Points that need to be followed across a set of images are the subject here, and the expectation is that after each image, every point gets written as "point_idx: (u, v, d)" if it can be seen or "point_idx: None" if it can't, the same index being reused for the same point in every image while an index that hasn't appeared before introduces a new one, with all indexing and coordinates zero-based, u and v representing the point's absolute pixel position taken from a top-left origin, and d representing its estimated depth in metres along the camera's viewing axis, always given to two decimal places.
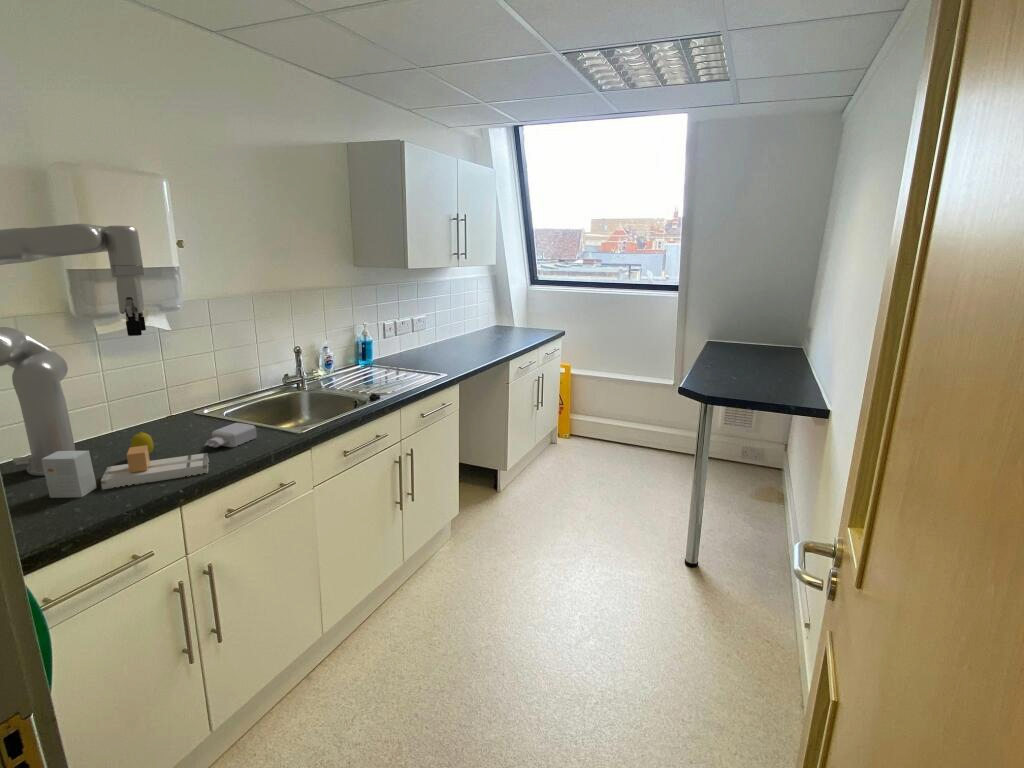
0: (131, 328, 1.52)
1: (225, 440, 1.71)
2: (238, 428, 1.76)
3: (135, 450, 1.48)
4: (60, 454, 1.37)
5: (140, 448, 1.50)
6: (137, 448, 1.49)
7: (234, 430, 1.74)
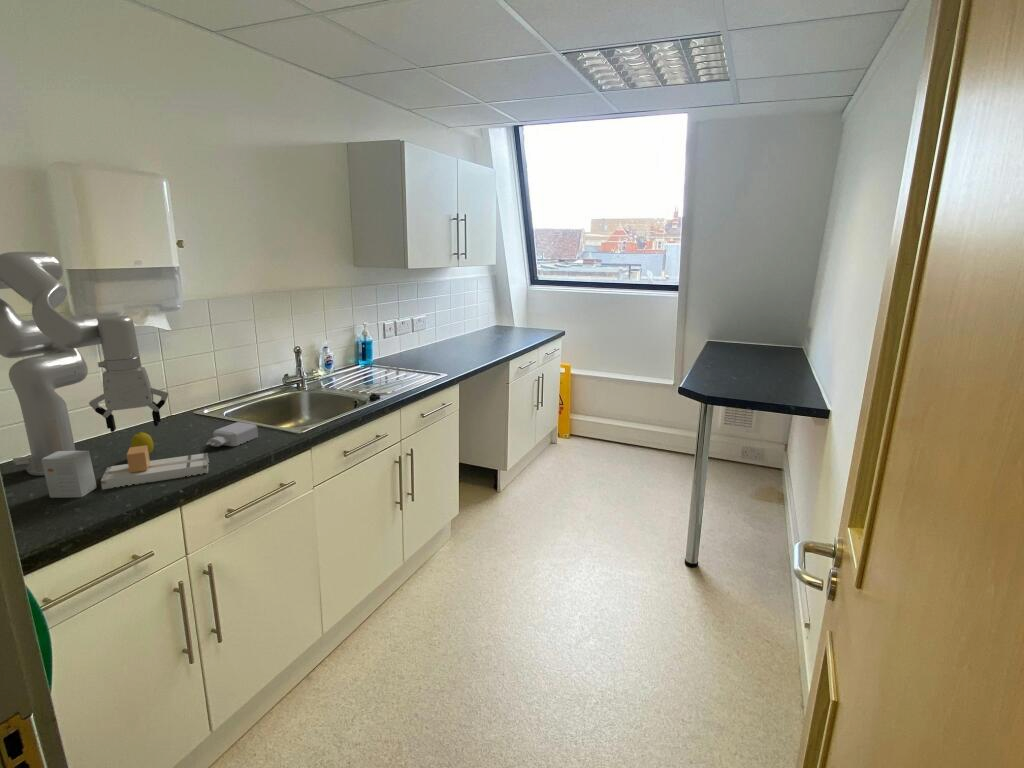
0: (159, 417, 1.48)
1: (227, 439, 1.72)
2: (239, 427, 1.77)
3: (135, 450, 1.48)
4: (60, 454, 1.37)
5: (140, 448, 1.50)
6: (137, 448, 1.49)
7: (235, 429, 1.75)
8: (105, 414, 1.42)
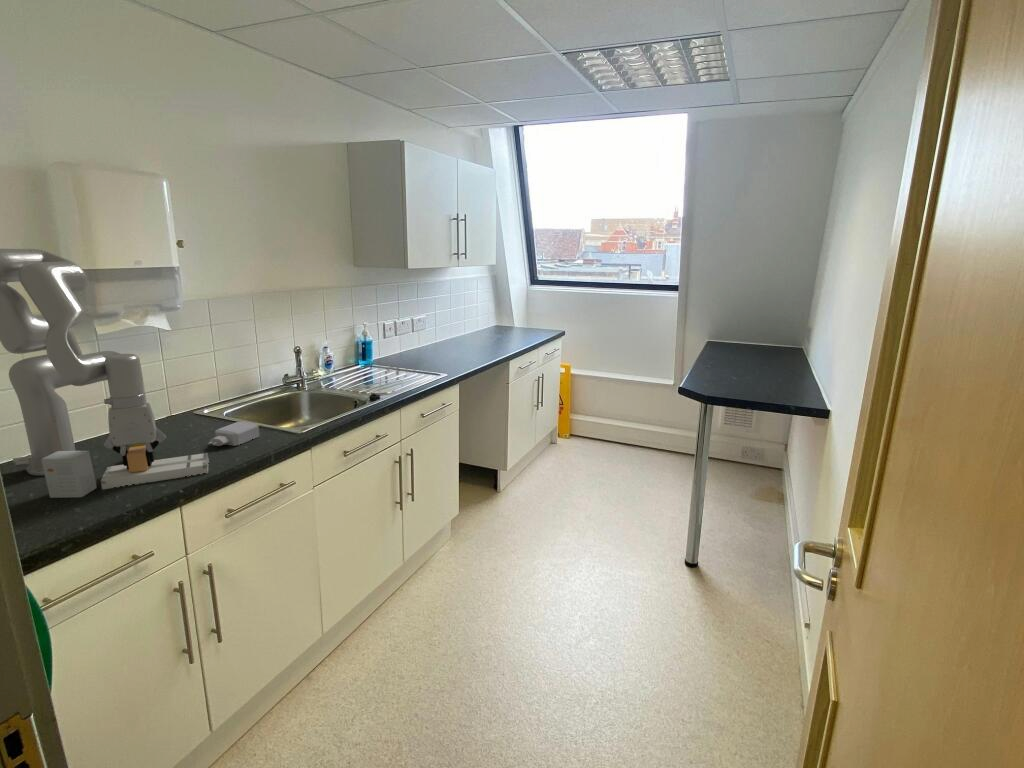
0: (152, 457, 1.50)
1: (228, 438, 1.72)
2: (241, 427, 1.77)
3: (135, 450, 1.48)
4: (60, 454, 1.37)
5: (140, 448, 1.50)
6: (137, 448, 1.49)
7: (237, 429, 1.75)
8: (121, 452, 1.46)
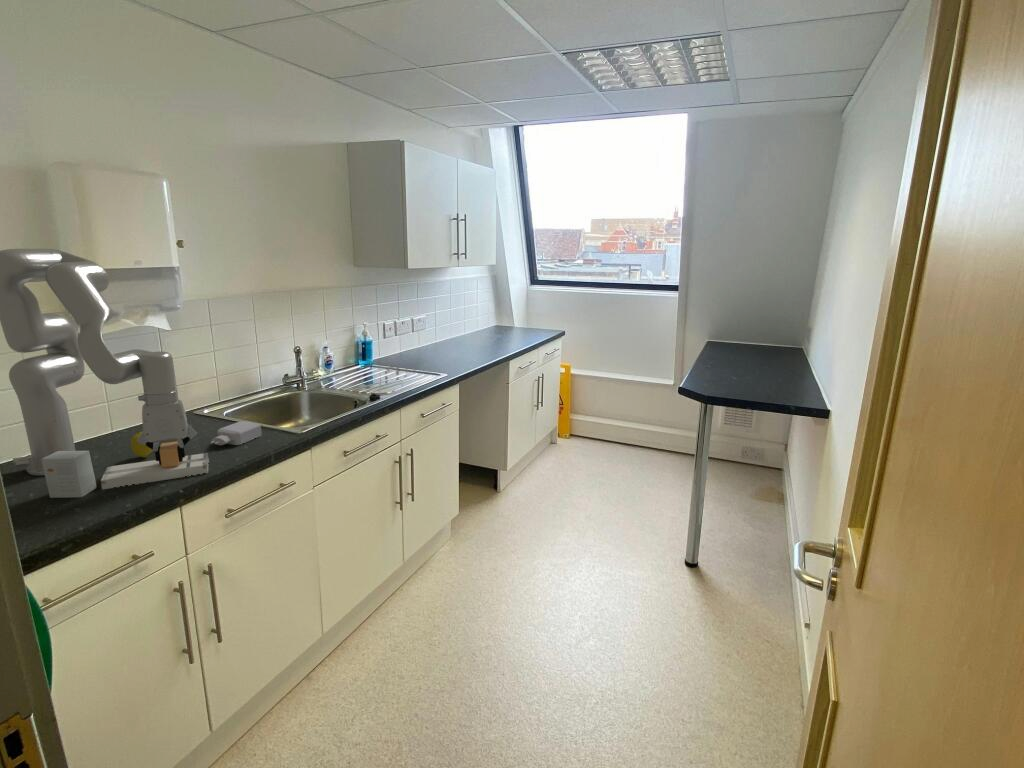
0: (184, 453, 1.53)
1: (230, 438, 1.73)
2: (243, 426, 1.78)
3: (167, 445, 1.51)
4: (60, 454, 1.37)
5: (171, 444, 1.53)
6: (169, 444, 1.52)
7: (239, 428, 1.76)
8: (154, 448, 1.49)
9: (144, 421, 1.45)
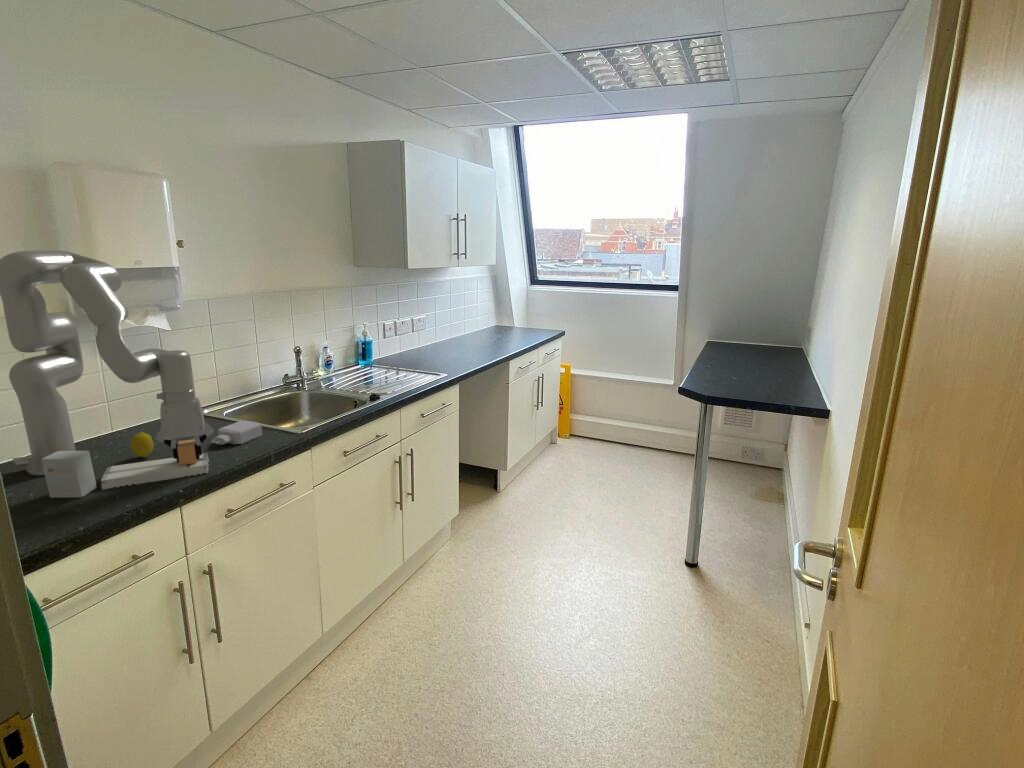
0: (201, 450, 1.55)
1: (231, 437, 1.73)
2: (244, 426, 1.78)
3: (184, 443, 1.53)
4: (60, 454, 1.37)
5: (188, 441, 1.55)
6: (186, 442, 1.54)
7: (240, 428, 1.76)
8: (172, 446, 1.51)
9: (162, 419, 1.47)
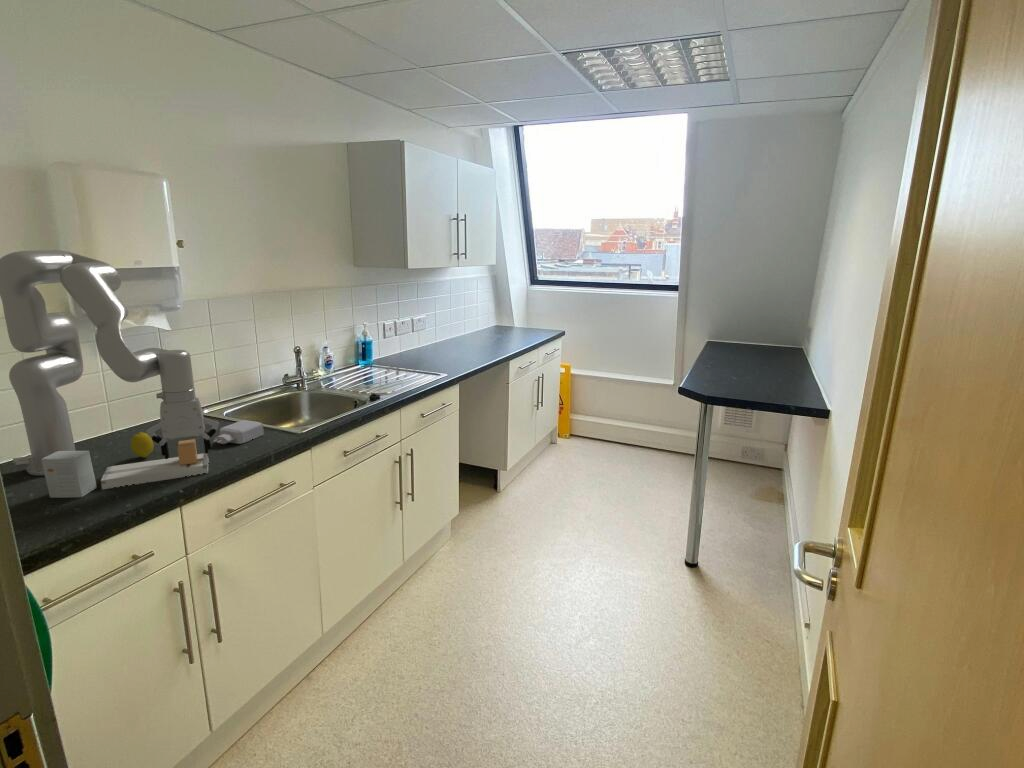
0: (210, 445, 1.56)
1: (233, 436, 1.74)
2: (245, 425, 1.79)
3: (185, 443, 1.53)
4: (60, 454, 1.37)
5: (188, 441, 1.55)
6: (186, 442, 1.54)
7: (241, 427, 1.77)
8: (161, 442, 1.49)
9: (162, 418, 1.47)
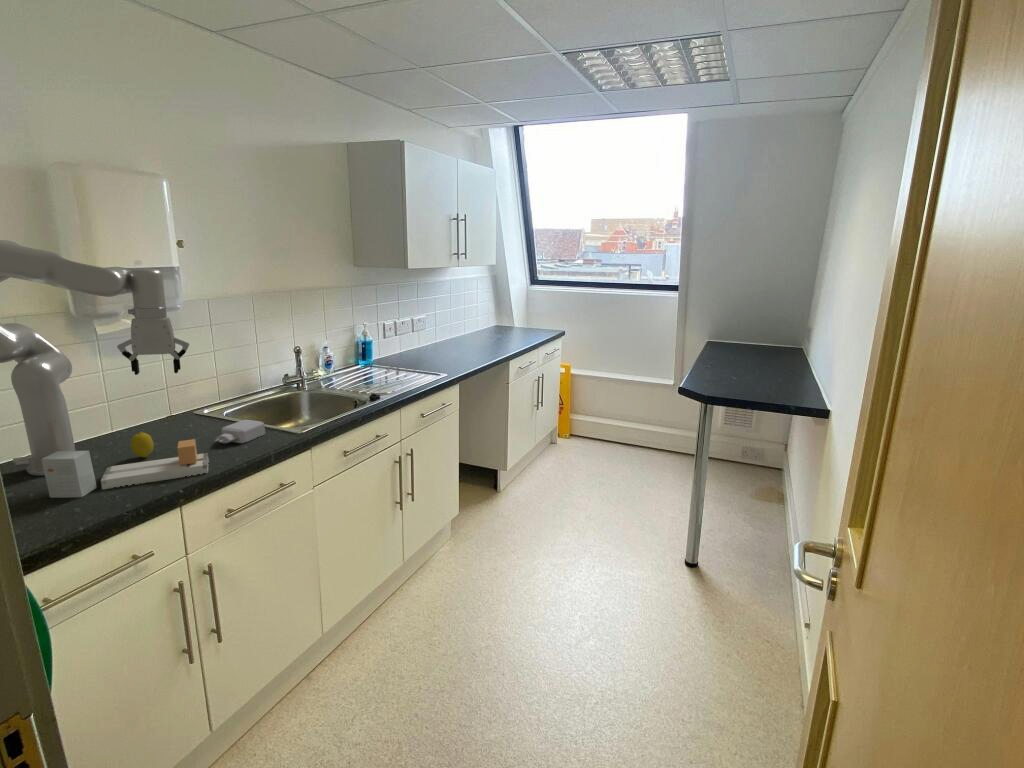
0: (179, 365, 1.60)
1: (234, 436, 1.75)
2: (247, 424, 1.80)
3: (185, 443, 1.53)
4: (60, 454, 1.37)
5: (188, 441, 1.55)
6: (186, 442, 1.54)
7: (243, 426, 1.78)
8: (131, 358, 1.54)
9: (132, 333, 1.52)
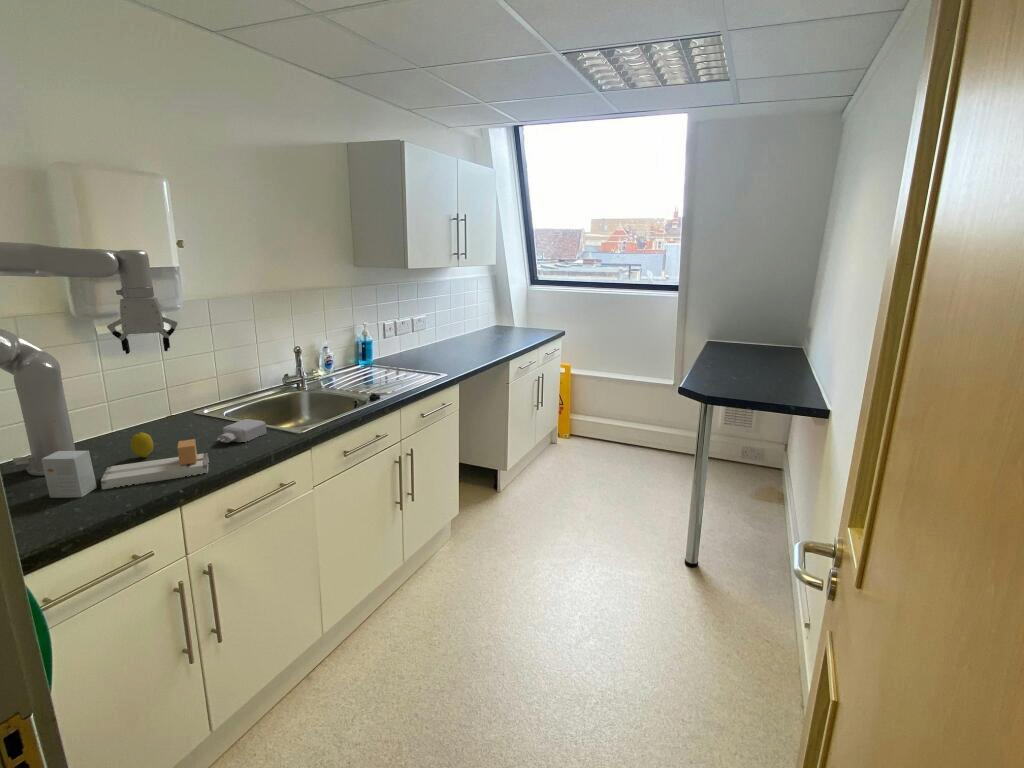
0: (169, 343, 1.66)
1: (236, 435, 1.75)
2: (248, 424, 1.80)
3: (185, 443, 1.53)
4: (60, 454, 1.37)
5: (188, 441, 1.55)
6: (186, 442, 1.54)
7: (245, 426, 1.78)
8: (121, 337, 1.59)
9: (122, 313, 1.57)
